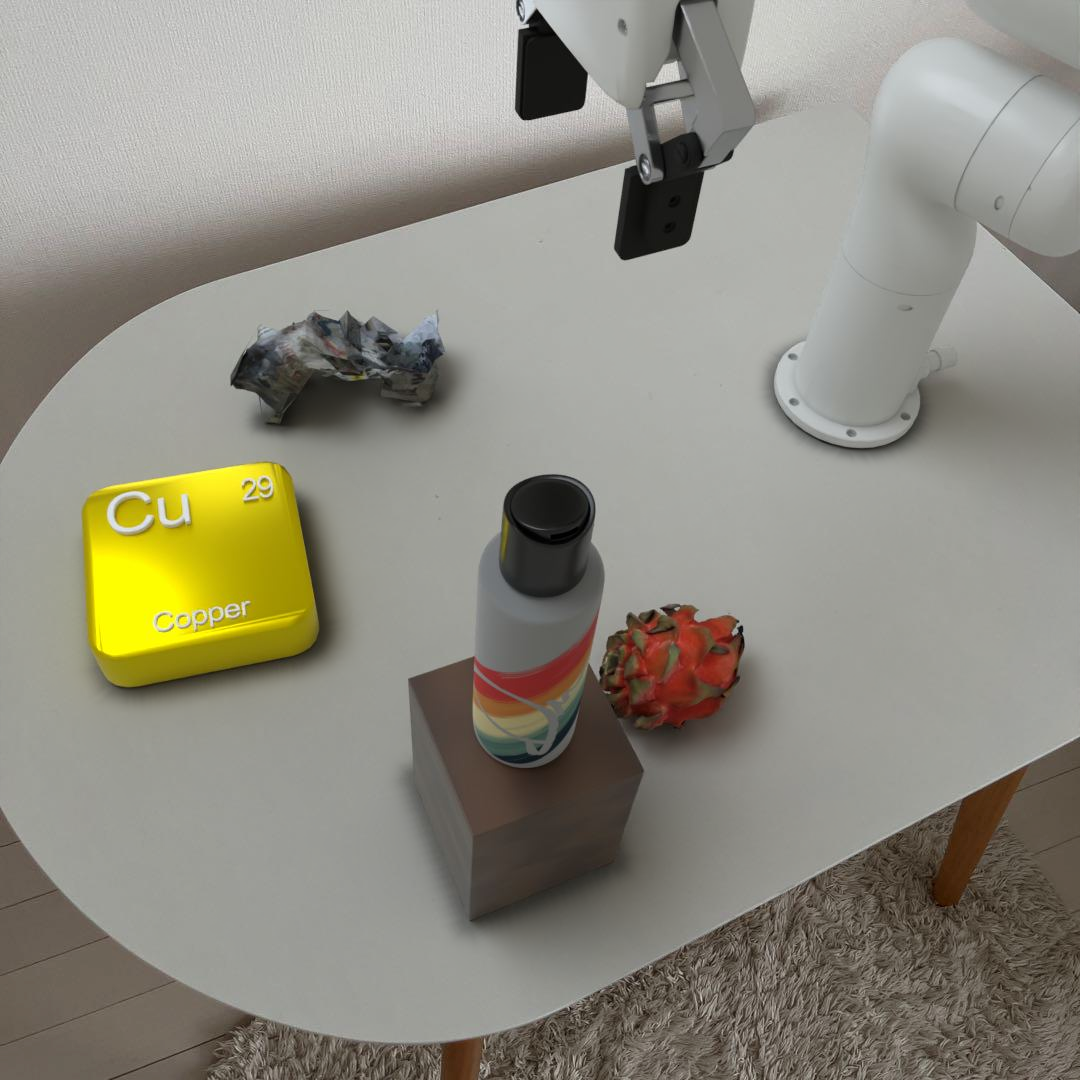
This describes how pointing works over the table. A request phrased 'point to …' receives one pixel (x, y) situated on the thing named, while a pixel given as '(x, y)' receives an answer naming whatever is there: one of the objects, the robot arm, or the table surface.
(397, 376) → the foil
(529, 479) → the lotion bottle
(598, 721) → the block
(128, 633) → the element tile
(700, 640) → the dragon fruit
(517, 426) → the table surface
